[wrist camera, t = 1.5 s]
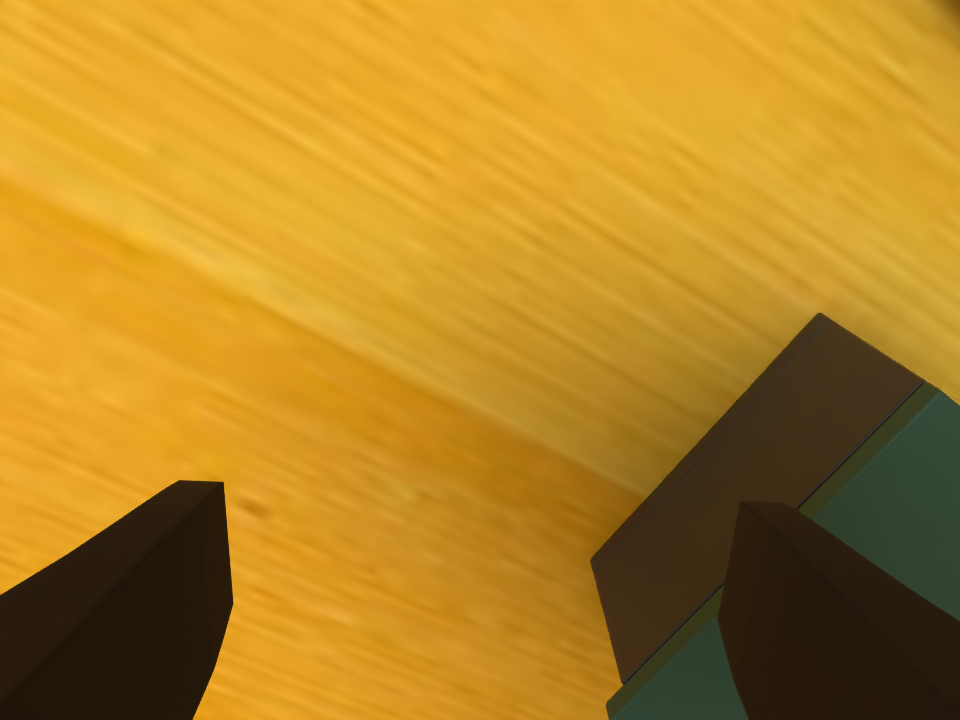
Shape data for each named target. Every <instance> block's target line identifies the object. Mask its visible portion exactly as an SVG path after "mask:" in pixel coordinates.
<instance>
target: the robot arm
mask: <svg viewBox="0 0 960 720" xmlns="http://www.w3.org/2000/svg"><path fill="white" fill-rule="evenodd" d="M232 606H233V593H232V580H231V568H230V556H229V543H228V531H227V519H226V506H225V494H224V482H212V481H185V480H179V481H177V482H175V483H174V484H172V485H170V486H169V487H167V488H165V489H164V490H162V491H161V492H159V493H158V494H156V495H155V496H153V497H152V498H150V499H149V500H147V501H146V502H144V503H143V504H141V505H140V506H138V507H137V508H135V509H134V510H132V511H131V512H130V513H128V514H127V515H125V516H124V517H122V518H121V519H119V520H118V521H116V522H115V523H113V524H112V525H110V526H109V527H107V528H106V529H104V530H103V531H101V532H100V533H98V534H97V535H95V536H94V537H92V538H91V539H89V540H88V541H87V542H85V543H84V544H82V545H81V546H79V547H78V548H76V549H75V550H73V551H72V552H70V553H68V554H67V555H65V556H64V557H62V558H60V559H59V560H57V561H55V562H54V563H52V564H51V565H49V566H47V567H46V568H44V569H42V570H41V571H39V572H37V573H36V574H34V575H33V576H31V577H29V578H28V579H26V580H24V581H23V582H21V583H19V584H18V585H16V586H14V587H13V588H11V589H10V590H8V591H6V592H5V593H3V594H1V595H0V720H193V717H194V715H195V713H196V710H197V708H198V706H199V704H200V701H201V699H202V697H203V694H204V692H205V690H206V687H207V685H208V683H209V680H210V678H211V676H212V673H213V671H214V668H215V665H216V662H217V658H218V655H219V652H220V649H221V645H222V642H223V639H224V635H225V632H226V628H227V624H228V621H229V617H230V614H231V610H232ZM717 620H718V624H719V628H720V632H721V636H722V640H723V644H724V648H725V652H726V655H727V659H728V663H729V666H730V670H731V673H732V677H733V680H734V684H735V687H736V689H737V692H738V694H739V697H740V699H741V702H742V704H743V706H744V709H745V711H746V714H747V716H748V719H749V720H960V621H959V620H958V619H956V618H954V617H953V616H951V615H950V614H948V613H946V612H945V611H943V610H942V609H940V608H938V607H937V606H935V605H934V604H932V603H931V602H929V601H928V600H926V599H925V598H923V597H922V596H920V595H919V594H917V593H916V592H914V591H913V590H911V589H910V588H908V587H907V586H905V585H904V584H902V583H901V582H899V581H898V580H896V579H895V578H894V577H892V576H891V575H889V574H888V573H886V572H885V571H884V570H882V569H881V568H879V567H878V566H876V565H875V564H873V563H872V562H871V561H869V560H868V559H866V558H865V557H864V556H862V555H861V554H859V553H858V552H856V551H855V550H854V549H852V548H851V547H849V546H848V545H847V544H845V543H844V542H842V541H841V540H840V539H838V538H837V537H835V536H834V535H833V534H831V533H830V532H828V531H827V530H825V529H824V528H823V527H821V526H820V525H818V524H817V523H815V522H814V521H812V520H811V519H810V518H808V517H807V516H805V515H804V514H802V513H800V512H799V511H797V510H796V509H794V508H792V507H791V506H789V505H787V504H786V503H784V502H761V501H740V505H739V510H738V515H737V520H736V526H735V531H734V536H733V541H732V546H731V551H730V556H729V561H728V567H727V572H726V577H725V582H724V587H723V592H722V597H721V603H720V608H719V613H718V618H717Z"/></svg>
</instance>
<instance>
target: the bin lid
mask: <svg viewBox="0 0 960 720" xmlns="http://www.w3.org/2000/svg"><path fill="white" fill-rule="evenodd" d="M797 511H799V512H800V513H802V514H804V515H805V516H807V517H808V518H810V519H811V520H812V521H814V522H815V523H817V524H818V525H820V526H821V527H823V528H824V529H825V530H827V531H828V532H830V533H831V534H833V535H834V536H835V537H837V538H838V539H840V540H841V541H842V542H844V543H845V544H847V545H848V546H849V547H851V548H852V549H854V550H855V551H856V552H858V553H859V554H861V555H862V556H864V557H865V558H866V559H868V560H869V561H871V562H872V563H873V564H875V565H876V566H878V567H879V568H881V569H882V570H884V571H885V572H886V573H888V574H889V575H891V576H892V577H894V578H895V579H896V580H898V581H899V582H901V583H902V584H904V585H905V586H907V587H908V588H910V589H911V590H913V591H914V592H916V593H917V594H919V595H920V596H922V597H923V598H925V599H926V600H928V601H929V602H931V603H932V604H934V605H935V606H937V607H938V608H940V609H942V610H943V611H945V612H946V613H948V614H950V615H951V616H953V617H954V618H956V619H958V620H959V621H960V406H959V405H958V404H957V403H955V402H954V401H953V400H952V399H951V398H949V397H948V396H947V395H946V394H945V393H943V392H942V391H941V390H939V389H938V388H936V387H935V386H933V385H932V384H930V383H928V382H925V383H923V384H922V385H921V386H920V387H919V388H918V389H917V390H916V391H915V392H914V393H913V394H912V395H911V396H910V397H909V398H908V399H907V400H906V401H905V402H904V403H903V404H902V405H901V406H900V407H899V408H898V409H897V410H896V411H895V412H894V413H893V414H892V415H891V416H890V417H889V418H888V419H887V420H886V422H885V423H884V424H883V425H882V426H881V427H880V428H879V429H878V430H877V431H876V432H875V433H874V434H873V435H872V436H871V437H870V438H869V439H868V440H867V441H866V442H865V443H864V444H863V445H862V446H861V447H860V448H859V449H858V450H857V451H856V452H855V453H854V454H853V455H852V456H851V457H850V458H849V459H848V460H847V461H846V462H845V463H844V464H843V465H842V466H841V467H840V468H839V469H838V470H837V471H836V472H835V473H834V474H833V475H832V476H831V477H830V478H829V479H828V480H827V481H826V482H825V483H824V484H823V485H822V486H821V487H820V488H819V489H818V490H817V491H816V492H815V493H814V494H813V495H812V496H811V497H810V498H809V499H808V500H807V501H806V502H805V503H804V504H803V505H802V506H801V507H800V508H799V509H798V510H797ZM723 587H724V585H723V586H722V587H721V588H720V589H719V590H718V591H717V592H716V593H715V594H714V595H713V596H712V597H711V598H710V599H709V600H708V601H707V602H706V603H705V604H704V605H703V606H702V607H701V608H700V609H699V610H698V611H697V612H696V613H695V614H694V615H693V616H692V617H691V618H690V619H689V620H688V621H687V622H686V623H685V624H684V625H683V626H682V627H681V628H680V629H679V630H678V631H677V632H676V633H675V634H674V635H673V636H672V637H671V638H670V639H669V640H668V641H667V642H666V643H665V644H664V645H663V646H662V647H661V648H660V649H659V650H658V651H657V652H656V653H655V654H654V655H653V656H652V657H651V658H650V659H649V660H648V661H647V662H646V663H645V664H644V665H643V666H642V667H641V668H640V669H639V670H638V671H637V672H636V673H635V674H634V675H633V676H632V677H631V678H630V679H629V680H628V681H627V682H626V683H625V684H624V685H623V686H622V687H621V688H620V689H619V690H618V691H617V692H616V693H615V694H614V695H613V696H612V698H611V699H610V700H609V701H608V702H607V703H606V709H607V713H608V718H609V720H749V719H748V716H747V714H746V711H745V709H744V706H743V704H742V702H741V699H740V697H739V694H738V692H737V689H736V687H735V684H734V680H733V677H732V673H731V670H730V666H729V663H728V659H727V655H726V652H725V648H724V644H723V640H722V636H721V632H720V628H719V624H718V620H717V618H718V613H719V608H720V603H721V597H722V592H723Z"/></svg>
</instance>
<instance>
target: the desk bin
mask: <svg viewBox="0 0 960 720" xmlns="http://www.w3.org/2000/svg"><path fill="white" fill-rule="evenodd" d="M925 382H926V381H925V380H924V379H922V378H921V377H919V376H918V375H916V374H914V373H913V372H911V371H910V370H908V369H907V368H905V367H904V366H902V365H901V364H899V363H897V362H896V361H894V360H893V359H891V358H890V357H888V356H887V355H885V354H884V353H882V352H880V351H879V350H877V349H876V348H874V347H873V346H871V345H870V344H868V343H867V342H865V341H863V340H862V339H860V338H859V337H857V336H856V335H854V334H853V333H851V332H850V331H848V330H846V329H845V328H843V327H842V326H840V325H839V324H837V323H836V322H834V321H832V320H831V319H830V318H828V317H826V316H825V315H823V314H822V313H818V314H817V315H816V316H815V317H814V318H813V320H812V321H811V322H810V323H809V324H808V325H807V326H806V327H805V328H804V329H803V330H802V331H801V333H800V334H799V335H798V336H797V337H796V338H795V339H794V340H793V341H792V342H791V343H790V344H789V346H788V347H787V348H786V349H785V350H784V351H783V352H782V353H781V354H780V355H779V356H778V357H777V358H776V360H775V361H774V362H773V363H772V364H771V365H770V366H769V367H768V368H767V369H766V370H765V371H764V373H763V374H762V375H761V376H760V377H759V378H758V379H757V380H756V381H755V382H754V383H753V384H752V386H751V387H750V388H749V389H748V390H747V391H746V392H745V393H744V394H743V395H742V396H741V397H740V399H739V400H738V401H737V402H736V403H735V404H734V405H733V406H732V407H731V408H730V409H729V410H728V412H727V413H726V414H725V415H724V416H723V417H722V418H721V419H720V420H719V421H718V422H717V423H716V425H715V426H714V427H713V428H712V429H711V430H710V431H709V432H708V433H707V434H706V435H705V436H704V437H703V439H702V440H701V441H700V442H699V443H698V444H697V445H696V446H695V447H694V448H693V449H692V450H691V452H690V453H689V454H688V455H687V456H686V457H685V458H684V459H683V460H682V461H681V462H680V463H679V465H678V466H677V467H676V468H675V469H674V470H673V471H672V472H671V473H670V474H669V475H668V476H667V478H666V479H665V480H664V481H663V482H662V483H661V484H660V485H659V486H658V487H657V488H656V489H655V491H654V492H653V493H652V494H651V495H650V496H649V497H648V498H647V499H646V500H645V501H644V502H643V504H642V505H641V506H640V507H639V508H638V509H637V510H636V511H635V512H634V513H633V514H632V515H631V516H630V518H629V519H628V520H627V521H626V522H625V523H624V524H623V525H622V526H621V527H620V528H619V529H618V531H617V532H616V533H615V534H614V535H613V536H612V537H611V538H610V539H609V540H608V541H607V542H606V544H605V545H604V546H603V547H602V548H601V549H600V550H599V551H598V552H597V553H596V554H595V555H594V557H593V558H592V559H591V560H590V562H591V566H592V570H593V573H594V577H595V581H596V585H597V589H598V593H599V597H600V600H601V604H602V608H603V612H604V616H605V620H606V624H607V628H608V632H609V636H610V640H611V644H612V647H613V651H614V655H615V659H616V663H617V667H618V671H619V675H620V679H621V682H622V684H623V685H624V684H625V683H626V682H627V681H628V680H629V679H630V678H631V677H632V676H633V675H634V674H635V673H636V672H637V671H638V670H639V669H640V668H641V667H642V666H643V665H644V664H645V663H646V662H647V661H648V660H649V659H650V658H651V657H652V656H653V655H654V654H655V653H656V652H657V651H658V650H659V649H660V648H661V647H662V646H663V645H664V644H665V643H666V642H667V641H668V640H669V639H670V638H671V637H672V636H673V635H674V634H675V633H676V632H677V631H678V630H679V629H680V628H681V627H682V626H683V625H684V624H685V623H686V622H687V621H688V620H689V619H690V618H691V617H692V616H693V615H694V614H695V613H696V612H697V611H698V610H699V609H700V608H701V607H702V606H703V605H704V604H705V603H706V602H707V601H708V600H709V599H710V598H711V597H712V596H713V595H714V594H715V593H716V592H717V591H718V590H719V589H720V588H721V587H722V586H723V585H724V582H725V577H726V572H727V567H728V561H729V556H730V551H731V546H732V541H733V536H734V531H735V526H736V520H737V515H738V510H739V505H740V501H761V502H784V503H786V504H787V505H789V506H791V507H792V508H794V509H796V510H798V509H799V508H800V507H801V506H802V505H803V504H804V503H805V502H806V501H807V500H808V499H809V498H810V497H811V496H812V495H813V494H814V493H815V492H816V491H817V490H818V489H819V488H820V487H821V486H822V485H823V484H824V483H825V482H826V481H827V480H828V479H829V478H830V477H831V476H832V475H833V474H834V473H835V472H836V471H837V470H838V469H839V468H840V467H841V466H842V465H843V464H844V463H845V462H846V461H847V460H848V459H849V458H850V457H851V456H852V455H853V454H854V453H855V452H856V451H857V450H858V449H859V448H860V447H861V446H862V445H863V444H864V443H865V442H866V441H867V440H868V439H869V438H870V437H871V436H872V435H873V434H874V433H875V432H876V431H877V430H878V429H879V428H880V427H881V426H882V425H883V424H884V423H885V422H886V420H887V419H888V418H889V417H890V416H891V415H892V414H893V413H894V412H895V411H896V410H897V409H898V408H899V407H900V406H901V405H902V404H903V403H904V402H905V401H906V400H907V399H908V398H909V397H910V396H911V395H912V394H913V393H914V392H915V391H916V390H917V389H918V388H919V387H920V386H921V385H922V384H923V383H925Z"/></svg>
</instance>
